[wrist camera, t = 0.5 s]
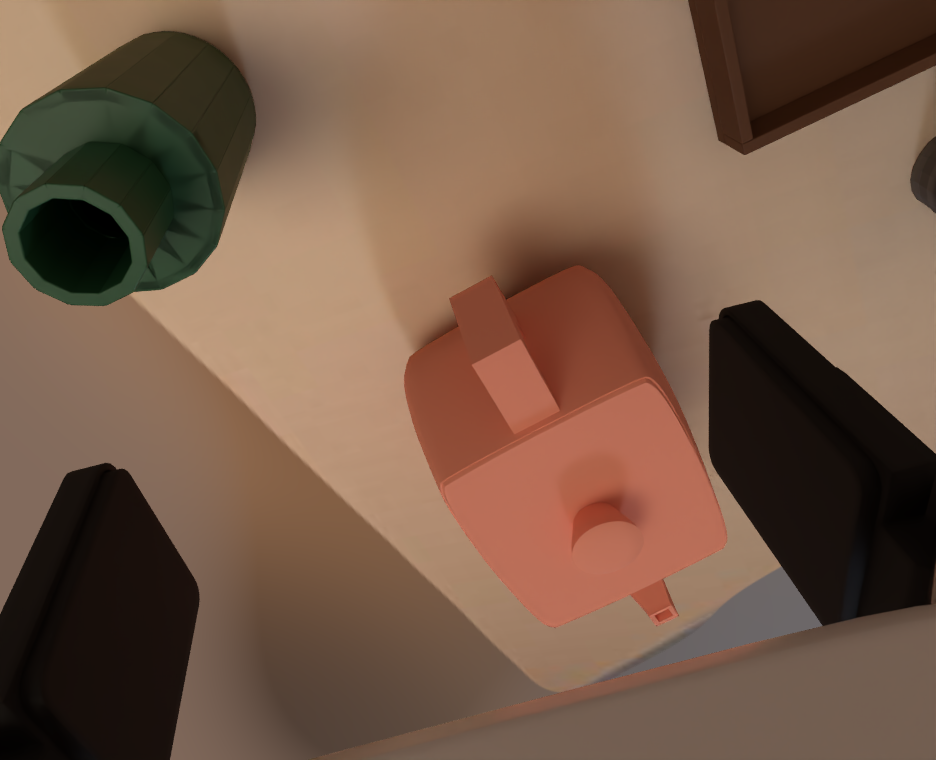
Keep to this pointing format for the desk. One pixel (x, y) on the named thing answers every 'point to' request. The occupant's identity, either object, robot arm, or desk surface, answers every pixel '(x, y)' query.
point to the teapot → (563, 448)
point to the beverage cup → (925, 176)
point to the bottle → (126, 170)
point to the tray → (804, 59)
